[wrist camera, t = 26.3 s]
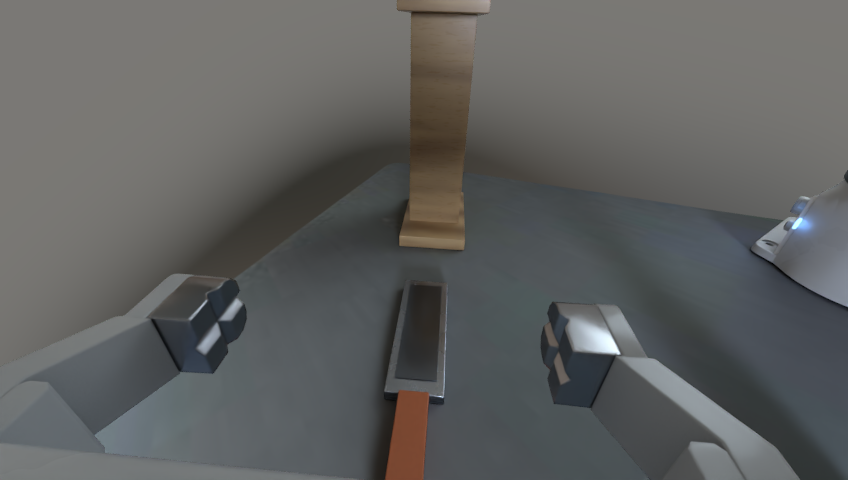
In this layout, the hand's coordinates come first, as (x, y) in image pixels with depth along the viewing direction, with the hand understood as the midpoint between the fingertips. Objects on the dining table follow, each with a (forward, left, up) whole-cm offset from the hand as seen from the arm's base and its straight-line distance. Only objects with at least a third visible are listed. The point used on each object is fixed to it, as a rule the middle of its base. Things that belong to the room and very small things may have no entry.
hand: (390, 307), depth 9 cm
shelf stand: (-28, -24, -18) cm, 40 cm away
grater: (-8, -7, -18) cm, 20 cm away
